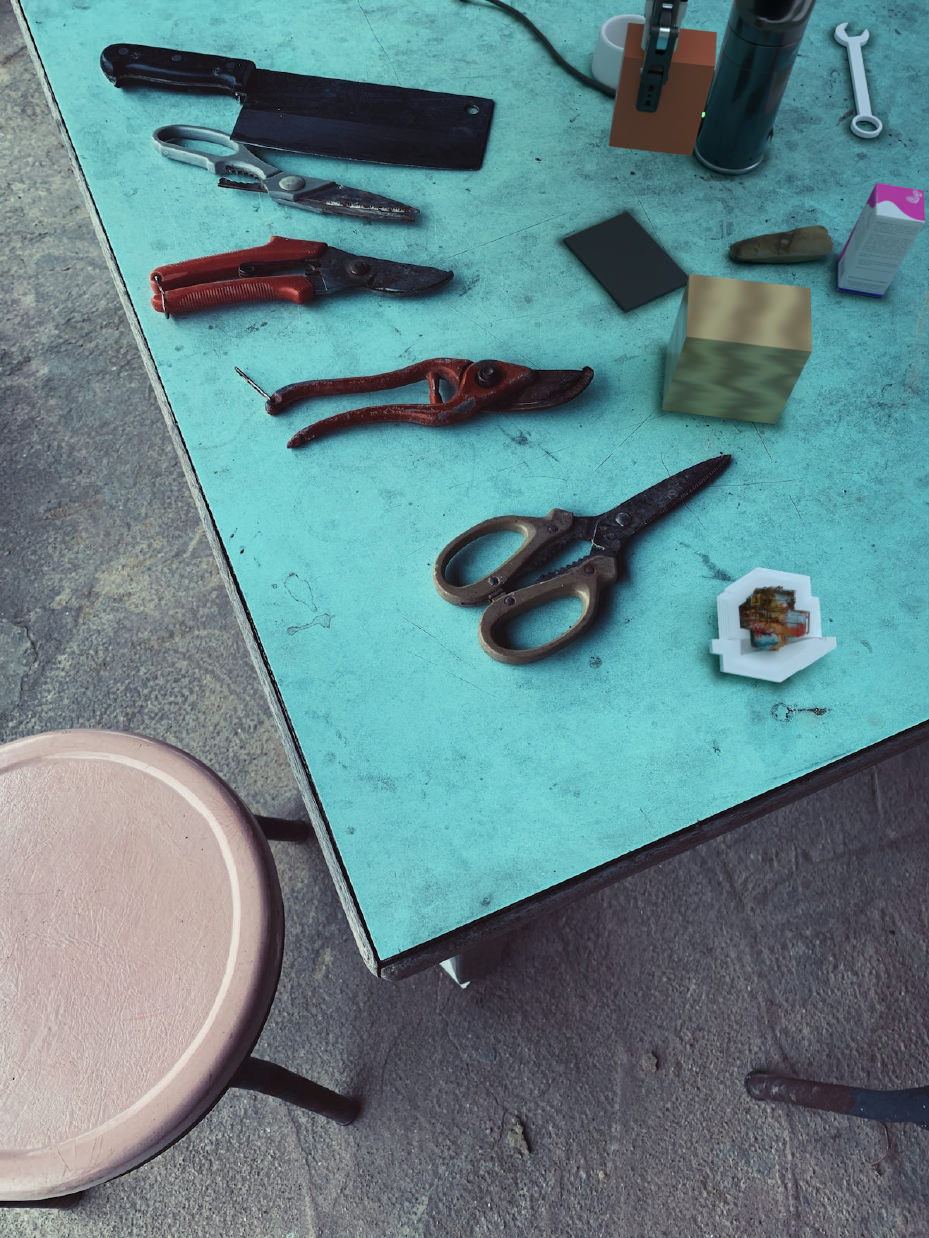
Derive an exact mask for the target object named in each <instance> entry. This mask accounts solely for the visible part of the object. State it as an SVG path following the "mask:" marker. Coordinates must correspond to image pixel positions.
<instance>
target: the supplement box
mask: <svg viewBox="0 0 929 1238" xmlns="http://www.w3.org/2000/svg"><path fill="white" fill-rule="evenodd" d="M925 212H926V211H925V191H924V190H922V189H917V188H910V187H904V186H899V185H892V184H887V183H881V182H876V183H875V185H874V186H873V189H872V190H871V192H870V194H869V196H868V198H867V201H866V202H865V205H864V207H863V208H862V211H861V213H860V214H859V216H858V219H857V220H856V223H855V225H854V226H853V229H852V231H851V233H850V235H849V237H848V239H847V240H846V242H845V244H844V246H843V249H842V251H841V252H840V255H839V256H838V258H837V266H836V267H837V268H836V291H837V292H842V293H848V294H854V295H855V294H856V295H861V296H868V297H873V298H879V299H880V298H883V296H884V295H885V293H886V291H887V290H888V288H889V286H890V284H891V283H892V281H893V279H894V277H895V276H896V274H897V272H898V270H899V269H900V267H901V265H902V264H903V262H904V260H905V259H906V257H907V255H908V253H909V252H910V250H911V248H912V246H913V245H914V242H916V240H917V237H918V236H919V234H920V232H921V231H922V229H923V227H924V226H925V223H926V216H925V215H926V213H925Z"/></svg>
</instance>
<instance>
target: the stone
mask: <svg viewBox="0 0 929 1238" xmlns="http://www.w3.org/2000/svg"><path fill="white" fill-rule="evenodd" d="M833 247H834V243H833V241H832V236H831V235H830V234H829V230H828V229H827V227H825V226H824V225H821V224H817V225H809V226H803V227H795V228H794V229H791V230H787V231H781V232H773V233H765V234H760V235H756V236H753V237H749V238H744V239H741V240H739V241H735V242H733V243H732V244H730V245H729V246H728V248H729V254H731V255H730V256H731V258H732V259H733V260H736V261H740V262H750V263H798V262H799V263H800V262H806V261H812V260H818V259H822V258H825V257H828V256H830V255H831V254H832V251H833Z"/></svg>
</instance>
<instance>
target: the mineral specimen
mask: <svg viewBox="0 0 929 1238" xmlns="http://www.w3.org/2000/svg"><path fill="white" fill-rule="evenodd" d="M811 584H812V583H811V576H810V575H805V574H799V573H793V572H789V571H788V572H787V571H784V570H783V571H782V570H777V569H772V568H771V569H770V568H766V567H760V566H757V567H755V568H753V569H752V570H750V571H749V572H748V573H746V574H744V575H743V576H741V577H740V578H738V579H737V580H735V581H734V582H732V583H731V584H728V586H726V587H724V588H723V592H721V593H719V594H718V595H717V596H716V605H717V606H716V607H717V608H716V609H717V626H718V638H711V639H708V646H709V647H708V648H709V654H712V655H717V656H719V670H720V673H725V674H729V675H730V674H732V675H736V676H741V677H746V678H751V679H757V680H763V681H767V682H772V683H782V682H784V681H785V680H786V679H788V678H789V677H791V676H794V674H796V673H797V672H798V671H802V670H804V669H806V668H807V667H808V666H810V665H811V664H814V663H815V662H817V660H820V659H821V658H823V657H824V656H825V655H827V654H828V653H830V652H831V651H833V650H835V649H836V648H837V647H838V644H837V636H834V635H833V636H823V631H822V618H821V616H822V615H821V603H820V597H819V596H814V595H812V585H811Z"/></svg>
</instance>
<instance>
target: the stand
mask: <svg viewBox="0 0 929 1238" xmlns="http://www.w3.org/2000/svg"><path fill="white" fill-rule="evenodd" d="M811 291H812V289H811V287H806V286H798V285H789V284H780V283H773V282H772V283H771V282H764V281H755V280H747V279H738V278H729V277H720V276H713V275H712V276H711V275H704V274H695V273H689V274H688V280H687V284H686V285H685V286H684V290H683V294H682V297H681V301H680V304H679V308H678V311H677V313H676V317H675V321H674V324H673V328H672V330H671V335H670V337H669V340H668V344H667V348H666V352H665V365H664V366H665V367H664V381H663V394H662V395H663V398H662V409H661V411H667V412H674V413H682V414H690V415H698V416H706V417H713V418H722V419H728V420H729V419H731V420H738V421H746V422H754V423H761V424H768V425H770V424H771V425H776V424H777V422H778V420H779V419H780V416H781V415H782V413H783V410H784V408H785V406H786V404H787V402H788V400H789V398H790V397H791V395H792V392H793V391H794V388H795V387H796V385H797V382H798V381H799V378H800V376H801V374H802V372H803V370H804V369H805V366H806V365H807V363H808V360H809V359H810V356H811V355H812V353H813V337H812V336H813V332H812V294H811V293H812V292H811Z"/></svg>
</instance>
